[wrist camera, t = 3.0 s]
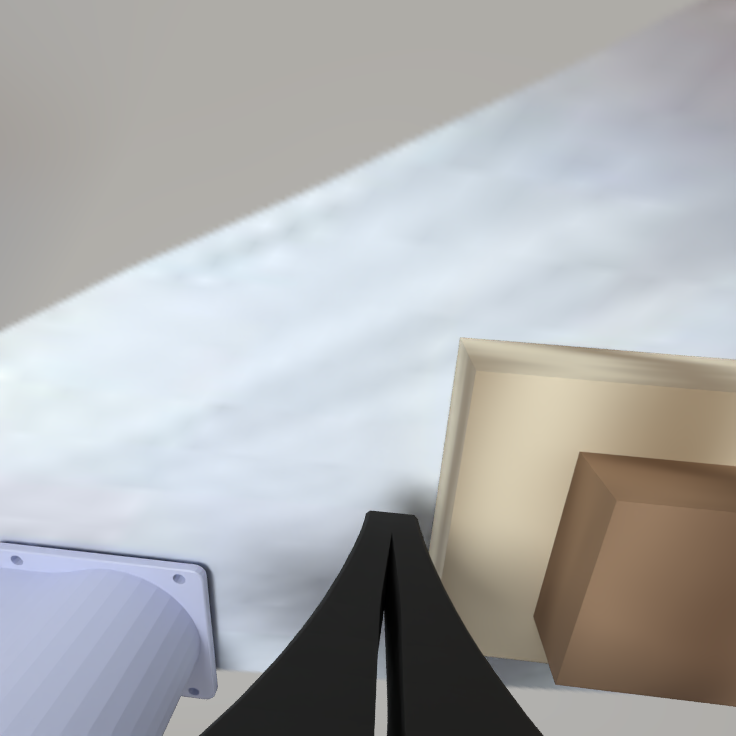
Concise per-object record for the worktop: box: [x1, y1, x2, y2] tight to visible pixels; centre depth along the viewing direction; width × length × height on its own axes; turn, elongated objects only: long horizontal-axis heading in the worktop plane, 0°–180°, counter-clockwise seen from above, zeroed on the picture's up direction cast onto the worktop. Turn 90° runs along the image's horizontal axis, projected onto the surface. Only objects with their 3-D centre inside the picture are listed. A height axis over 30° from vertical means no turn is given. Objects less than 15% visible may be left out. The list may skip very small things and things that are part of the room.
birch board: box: [429, 338, 736, 664], centre depth 13 cm, size 10×10×3 cm
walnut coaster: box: [533, 452, 736, 707], centre depth 11 cm, size 6×6×2 cm
